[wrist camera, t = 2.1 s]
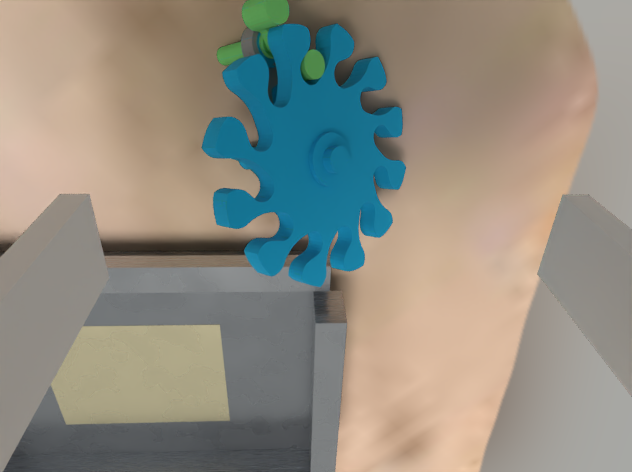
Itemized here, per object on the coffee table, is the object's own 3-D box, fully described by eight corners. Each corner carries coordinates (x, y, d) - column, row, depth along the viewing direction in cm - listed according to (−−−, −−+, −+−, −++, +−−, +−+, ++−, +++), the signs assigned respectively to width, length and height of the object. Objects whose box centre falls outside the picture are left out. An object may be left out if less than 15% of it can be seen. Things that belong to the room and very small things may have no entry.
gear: (432, 220, 23) (282, 343, 17) (341, 210, 27) (196, 305, 21) (387, -37, 18) (164, 11, 13) (287, -1, 23) (86, 47, 17)
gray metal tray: (-119, 240, 24) (-187, 289, 20) (341, 238, 25) (349, 285, 22) (-7, 449, 33) (-41, 508, 29) (328, 441, 34) (333, 497, 31)
